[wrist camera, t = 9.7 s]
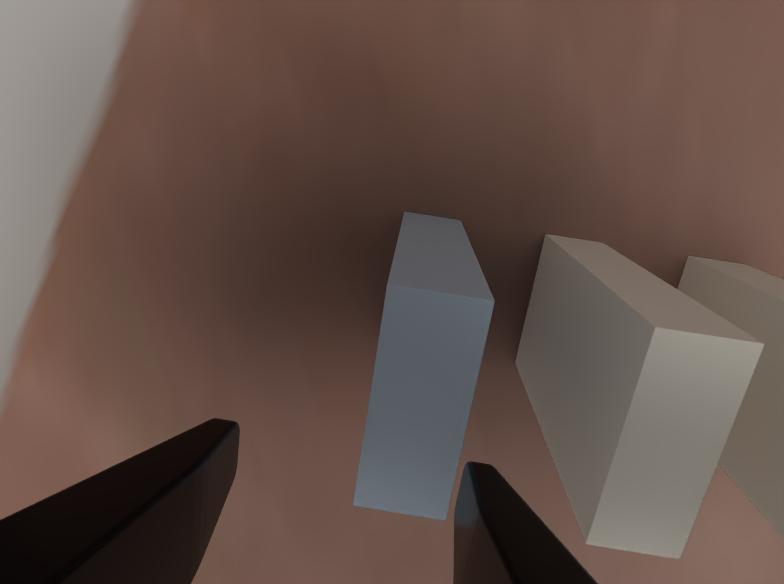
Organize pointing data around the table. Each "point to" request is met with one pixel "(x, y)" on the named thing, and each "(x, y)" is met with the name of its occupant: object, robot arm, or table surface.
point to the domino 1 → (424, 369)
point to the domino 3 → (767, 385)
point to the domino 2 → (629, 393)
